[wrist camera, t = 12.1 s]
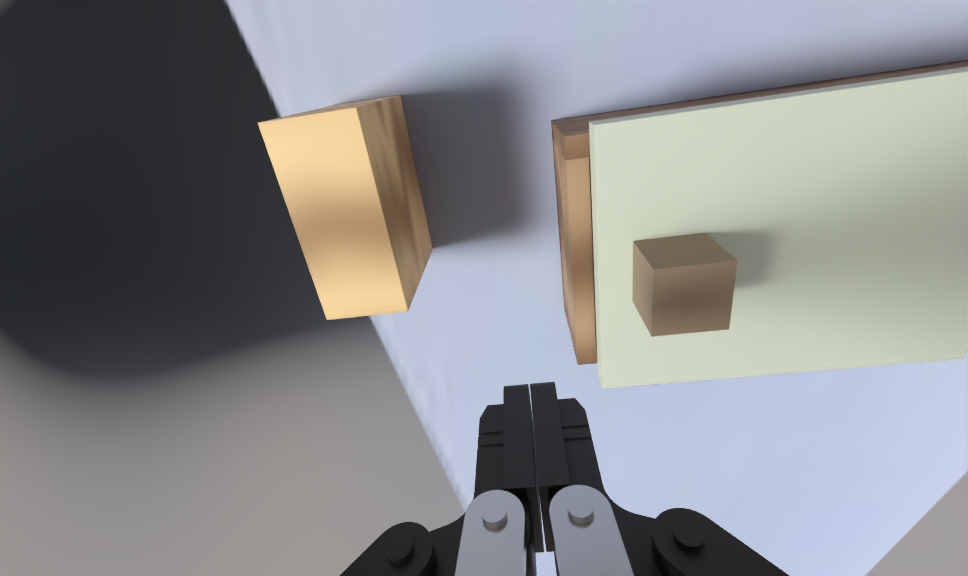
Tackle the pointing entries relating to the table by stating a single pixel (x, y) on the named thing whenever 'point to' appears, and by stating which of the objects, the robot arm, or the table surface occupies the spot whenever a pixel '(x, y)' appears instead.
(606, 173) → the lid
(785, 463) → the table surface
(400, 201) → the key
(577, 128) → the wooden box
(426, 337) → the table surface
